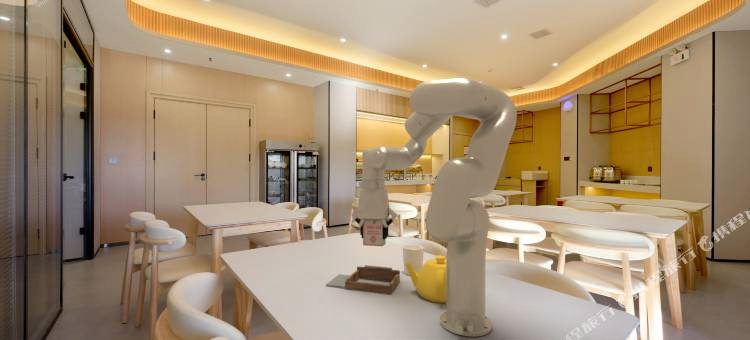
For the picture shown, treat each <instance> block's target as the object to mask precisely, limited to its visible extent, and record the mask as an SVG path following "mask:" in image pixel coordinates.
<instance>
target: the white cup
mask: <svg viewBox="0 0 750 340" xmlns="http://www.w3.org/2000/svg"><path fill="white" fill-rule="evenodd" d="M402 258H403V259H402V261H403V269H404V270H403V273H404V274H405V275H408V276H410V274H409V272H408V269H407V267H406V263H411V264H412V266H413V268H414V269H415V271H416V272H417V273H418V274H419V272H420V270H421V268H422V267H423V265H424V246H423V245H420V244H405V245H403V246H402Z"/></svg>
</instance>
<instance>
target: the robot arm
mask: <svg viewBox="0 0 750 340" xmlns="http://www.w3.org/2000/svg"><path fill="white" fill-rule="evenodd" d="M409 106H410V108H411V109H412V111H413V112H412V113H411V114H410V115H409V116H408V117H407V118H406V120H405V122H404V129H405V131H406V133H407V134H408V135H409V137H410V139H409V140H408V141H407V142H406V143H405V144H404V145H403V146H401V147H398V146H384V145H383V146H382V145H381V146H377V147H374V148H366V149H363V151H362V155H361V156H362V161H361V162H362V163H361V164H362V180H361V181H359V182H358V186H359V187H361V189H360V190H359V193H358V204H357V209H356V210H355V211H353V212H352V213H351V217H352V218H353V219H354V220H355V222H356V223H357V225H359V227H360V229H359V233H360V236H361V239H363V224H364V221H365V219H373V220H381V221H382V223H383V225H384V227H383V239H388V237H389V226H390V225H391V224H392V223H393V222H394V221H395V220H396V219H397V218H398V214H397V213H396V212H395V211H394V210H393V209H392V208H391V207H390V201H389V195H388V190H387V188H386V187H385V186H386V185H385V184H386V183H385V182H386V181H385V178H386V177H385V173H386V172H385V171H393V170H394V171H403V170H406V169H409V168H410V167H412V166H413V165H414V164H415V163H417V161H418V160H419V159H421V158H422V156H423V155H424V153H425V151H426V148H427V143H428V140H429V139H430V138H431V137H432V136H433V135H434V134H435V133H436V132H437V131H438V130H439V129H440V128H441V127H442V126H443V125H444V124H446V123H447V121H449V120H450V119H451V118H452V117H460V118H461V117H462V118H465V119H471V120H477V121H479V122H480V124H479V126H478V127H477V128H476V129H475V131H474V133H473V135H472V137H471V140H469V141H470V142H469V146H468V149H467V152H466V155H465V157H456V158H455V157H453V158H452V159H449V160H448V161H446V162H445V163H443V165H442V166H441V168H440V169H439V171H438V173H437V174H436V178H435V180H434V181H435V182H434V185H433V188H432V191H431V195H430V199H429V203H428V206H427V210H426V215H425V224H426V225H425V226H426V229H427V232H428V234H429V236H431V238H432V239H434V240H435V241H437V242H440V243H447V247H446V256H445V257H446V258H445V260H446V303H445V304H446V305H445V309H446V311H444V312H442V313H441V314H440V317H439V320H440V325H441V326H442V327H443V328H444V329H445V330H446V331H448V332H450V333H453V334H454V335H458V336H463V337H475V338H476V337H482V336H483V337H484V336H486V335H488V334H489V333H491V331H492V329H493V323H492V321H491V319H490V318H489V317H488V316H486V253H487V249H486V248H487V241H488V240H487V239H488V235H489V229H490V216H489V213H488V211H487V208H486V207H485V206H484V205H483V203H481V202H480V201H478V200H475V198H483V197H486V196H489V195H490V194H491V193H493V191H494V189H495V188H496V185H497V183H498V179H499V176H500V172H501V170H502V167H503V164H504V160H505V157H506V155H507V152H508V151H507V150H508V147H509V145H510V141H511V139H512V137H513V134H514V132H515V131H514V130H515V128H516V124H517V119H518V118H517V117H518V115H517V108H516V105H515V103H514V102H513V100H512V98H511V97H510V96H509V95H508V94H506V93H505V92H504V91H502V90H501V89H500V88H497V87H495V86H492V85H489V84H486V83H482V82H479V81H477V80H473V79H471V78H464V77H459V78H457V77H456V78H446V79H434V80H433V79H432V80H426V81H423V82H421V83H419V84H418V85H416V86H415V87H414V89H413V90H412V92H411V93H410V96H409ZM390 216H391V217H390ZM389 217H390V219H388V218H389Z"/></svg>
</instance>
